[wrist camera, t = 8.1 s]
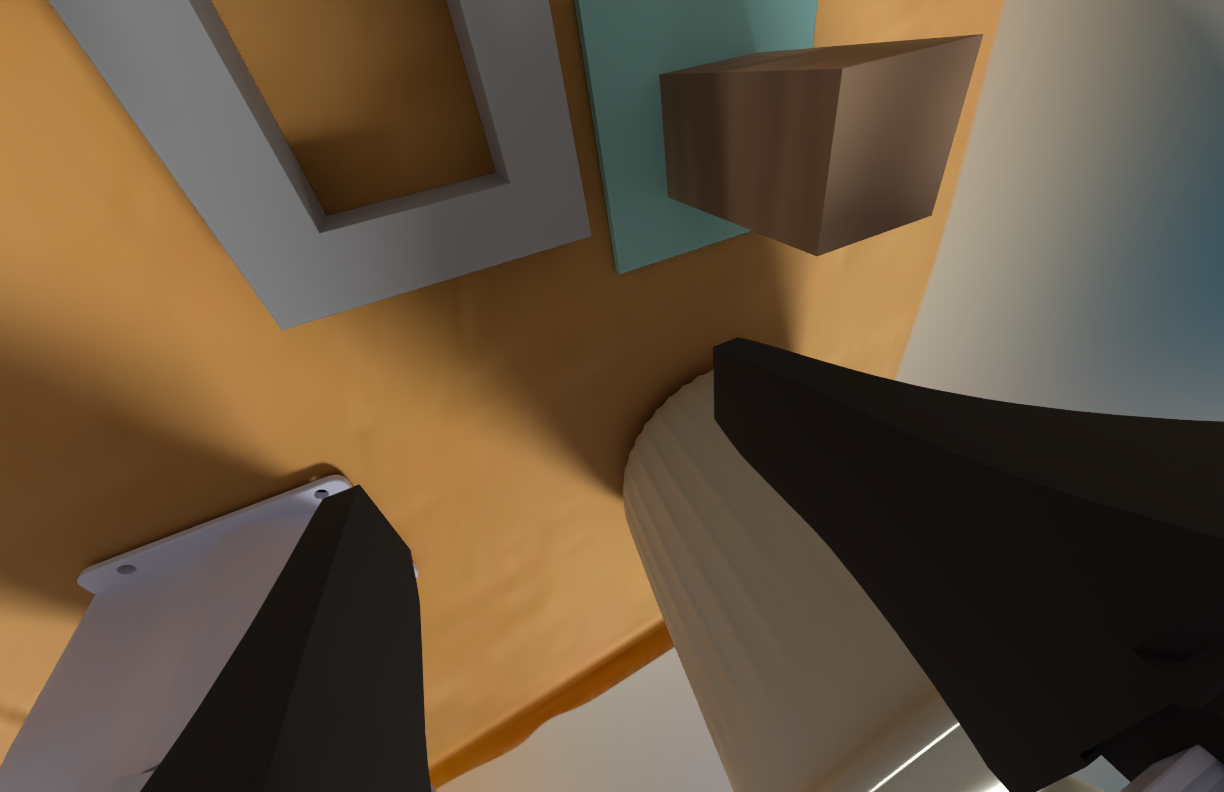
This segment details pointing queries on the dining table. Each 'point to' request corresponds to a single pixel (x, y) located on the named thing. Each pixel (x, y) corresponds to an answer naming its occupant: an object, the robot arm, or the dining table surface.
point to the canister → (782, 628)
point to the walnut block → (817, 137)
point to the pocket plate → (278, 189)
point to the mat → (632, 113)
